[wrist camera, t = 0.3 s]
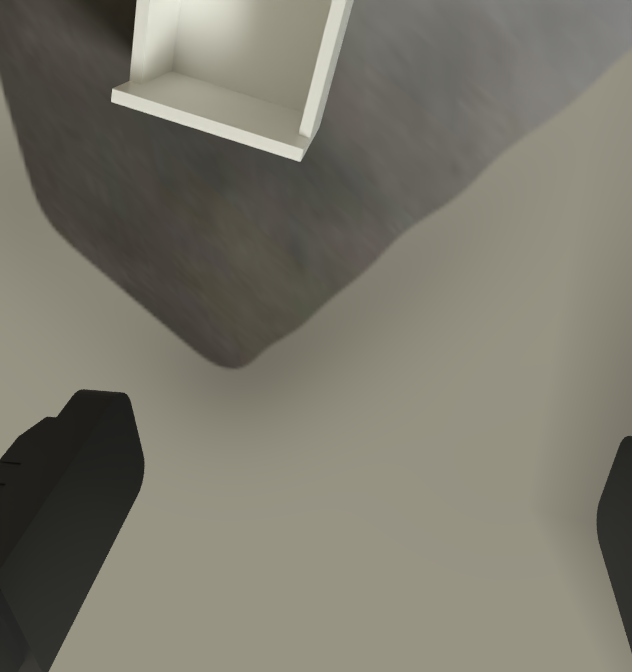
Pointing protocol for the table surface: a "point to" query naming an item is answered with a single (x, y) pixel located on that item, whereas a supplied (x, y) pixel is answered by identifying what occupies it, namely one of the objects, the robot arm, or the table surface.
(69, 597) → the robot arm
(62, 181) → the table surface
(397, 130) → the table surface
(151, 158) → the table surface
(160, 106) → the white open box
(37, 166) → the table surface
